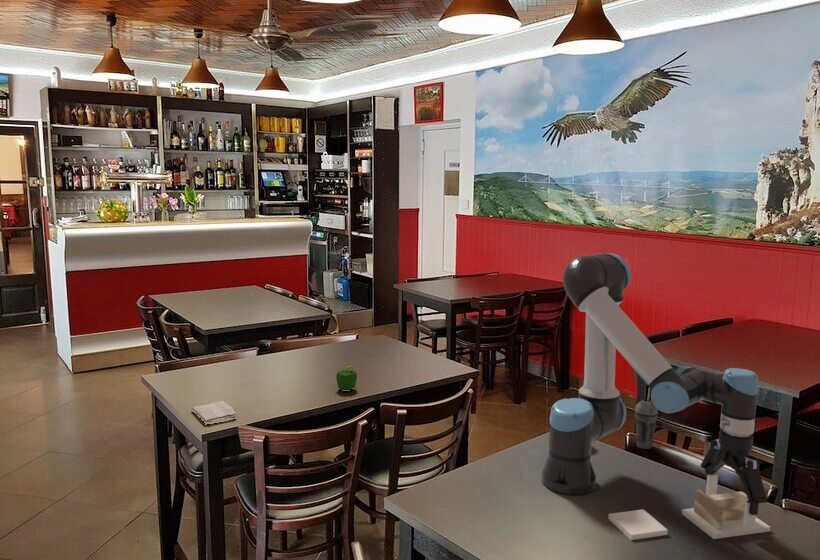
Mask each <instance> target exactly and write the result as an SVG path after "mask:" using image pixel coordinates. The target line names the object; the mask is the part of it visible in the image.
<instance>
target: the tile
mask: <svg viewBox="0 0 820 560" xmlns="http://www.w3.org/2000/svg"><path fill="white" fill-rule="evenodd" d="M607 519H608V520H609V521H610V522H611V523H612V524H613V525H614V526H615V527H616V528H618V530H620V532H622V533H623V535H625V536H626V537H627V538H628V539H629V540H630V541H634V540H641V539H647V538H654V537H662V536H668V531H669V530H668V529H667V528H666V527H665V526H664V525H663V524H661V523H660V522H659V521H658V520H657V519H655V518H654V517H653V516H652V515H651V514H649V513H648V512H647V511H646V510H645V509H637V510H628V511H620V512H612V513H608V518H607Z"/></svg>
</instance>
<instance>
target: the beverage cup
mask: <svg viewBox="0 0 820 560" xmlns="http://www.w3.org/2000/svg"><path fill="white" fill-rule="evenodd" d="M647 392H648V393H647V398H646V399H641V400H640V401H638V402H637V404H636V406H635V409H634V416H635V428H636V429H635V431H636V437H635V438H636V446H637V448H640V449H643V450H649V449H652V448H653V442H654V437H655V430H656V425H657V420H658V418H659V417H658V416H659V410H658V409H657V408H656V407H655V406H654V404H653V402H652V400H650V396H651V389H650V387H649V386H648V391H647Z"/></svg>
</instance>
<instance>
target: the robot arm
mask: <svg viewBox="0 0 820 560" xmlns="http://www.w3.org/2000/svg"><path fill="white" fill-rule="evenodd" d="M631 278H632V273H631V268H630V266H629V264H628V262H627V261H625V259H624V258H623V257H621V256H620V255H618V254H615V253H610V252H609V253H606V252H604V253H596V254H589V255H581V256H577V257H575V258H574V259H571V260H570V261H569V262H568V263H567V265H566V266H565V268H564V270H563V275H562V285H563V288H564V290H565V292H566V295H567V297H568V298H569V300H570V301H571V302H572V303H573V305H574V306H575V307H576V309H578V311H580V312H583V313H585V329H584V330H585V335H584V337H585V340H584V341H585V342H584V376H583V378H584V379H583V385H582V386H581V387H580V388H579V389H578V398H577V397H570V398H562V399H560V400H557V401H556V402H554V404H553V405H552V406H551V409H550V414H549V437H548V455H547V458H546V461H545V463H544V465H543V468H542V470H541V479H540V480H541V483H542V484H543V485H544V486H545V487H546V488H548V489H549V490H551V491H554V492H556V493H559V494H563V495H570V496H573V495H574V496H579V495H586V494H590V493H592V492H593V491H594V490H595V489H596V488H597V487H596V486H597V477H596V473H595V469H594V467H593V466H594V465H593V462H592V447H593V446H592V443H594V442H596V441H598V440H600V439H603V438H605V437H607V436H610V435H612V434H614V433H616V432H617V431H619V430H620V429H621V428H622V427H623V425H624V424H625V422H626V419H627V407H626V404H625V402H623V400H622V398H621V396H620V395H621V393H620V392H621V391H619V390H618V389H617V388H616V385H615V384H616V383H615V380H616V379H615V378H616V353H617V351H618V352H619V353H620V354H621V356H622V357H623V358H624V359H625V360H626V362H628V364H629V365H630V366H631V367H632V369H633V370H634V371H635V372H636V373H637V374H638V376H639V377H640V378H641V380H642V381H643V382H644V383H645V384H646V385H647V386H648V388H649V387H650V399H651V401H652V402H653V404H654V406H655V407H656V408H657V409H658V411H660V412H661V413H665V414H674V413H676V412H681V411H683V410H685V409H686V408H688V407H690V406H691V405H694V404H696V403H698V402H700V401H706V402H710V403H713V404H717V405H721V410H720V423H719V428H720V429H719V431H718V433H719V434H718V439H712V440H711V443H710V447H709V449H708V451H707V453H706V455H705V456H704V458H703V460H702V462H701V463H700V468H701V469H704V472H705V473H706V474H705V484H706V485H705V486H706V487H705V494H706V495H716V494H718V483H719V482H718V480H719V474H718V472H719V470H721V468H722V467H724V466H725V465H726V466H728V467H730V468H731V469H732V470H734V472H735V474H736V475H738V477H739V480H740V483H741V484H742V487H743V490H744V493H745V494H746V495H747V497H748V500H745V510H744V521H743V525H744V526H745V527H747V526H754V525H755V519H756V517H757V515H758V513H759V506H760V504H766V503H767V502H768V500H767V495H766V491H765V488H764V484H763V479H762V476H761V475H762V474H761V472H760V460H759V459H751V458H750V452H751V451H752V449H753V446H754V445H753V444H754V435H753V434H754V432H755V424H756V410H757V403H758V395H759V377H758V375H757V373H756V372H754V371H753V370H749V369H745V368H738V367H730V368H726V369H725V370H724V373H723V374H722V373H718V372H714V371H711V370H706V369H705V370H704V369H702V368H697V367H695V366H686V365H681V366H679V367H677V368H676V369H674V368H673V367H672V365H671V364H670V363H669V362H668V361H667V360H666V359H665V357H663V355H662V353H660V351H658V349H657V348H656V347H655V346H654V345H653V343H651V341H650V340H649V339H648V338H647V337H646V335H644V333H643V332H642V331H641V330H640V329H639V328H638V326H637V325H636V324H635V323H634V321H632V320H631V318H629V316H628V315H627V313H625V311H624V310H623V309H622V308H621V306H620V304H622V303H623V301H624V291H625V289H627V287H628V286H629V285H630V282H631V280H632V279H631ZM616 350H617V351H616Z"/></svg>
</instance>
